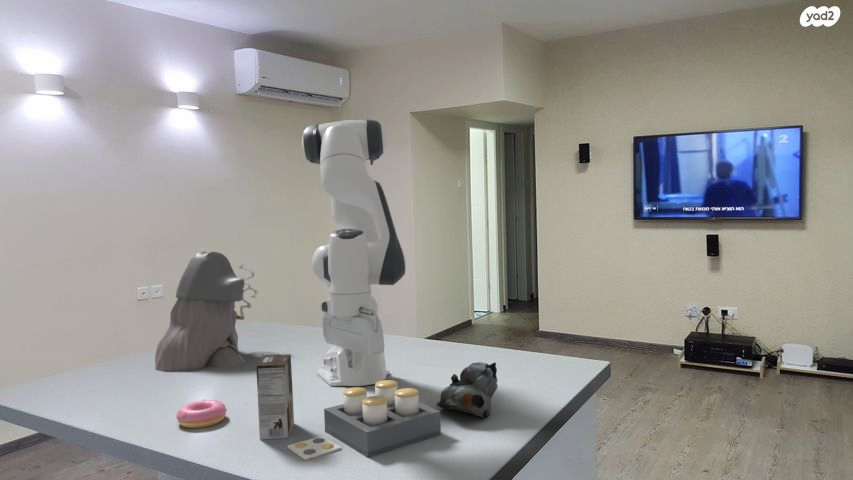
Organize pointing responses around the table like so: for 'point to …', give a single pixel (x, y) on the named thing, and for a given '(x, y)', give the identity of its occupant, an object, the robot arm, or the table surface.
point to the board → (382, 429)
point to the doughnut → (201, 414)
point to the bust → (204, 317)
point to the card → (314, 447)
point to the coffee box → (275, 396)
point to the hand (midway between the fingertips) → (354, 369)
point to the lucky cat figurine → (471, 390)
